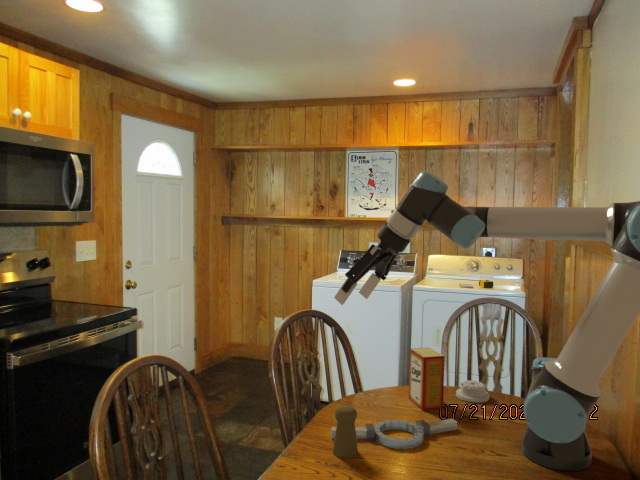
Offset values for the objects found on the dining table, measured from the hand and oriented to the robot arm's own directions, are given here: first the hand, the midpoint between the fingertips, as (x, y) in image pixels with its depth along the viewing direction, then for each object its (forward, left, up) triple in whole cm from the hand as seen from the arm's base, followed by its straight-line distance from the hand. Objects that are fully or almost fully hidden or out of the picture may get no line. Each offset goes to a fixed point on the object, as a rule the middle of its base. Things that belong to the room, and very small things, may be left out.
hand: (351, 298), depth 130 cm
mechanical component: (-40, -27, -36) cm, 60 cm away
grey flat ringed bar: (-12, +2, -35) cm, 37 cm away
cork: (+2, +10, -36) cm, 37 cm away
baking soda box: (-24, -21, -36) cm, 48 cm away
